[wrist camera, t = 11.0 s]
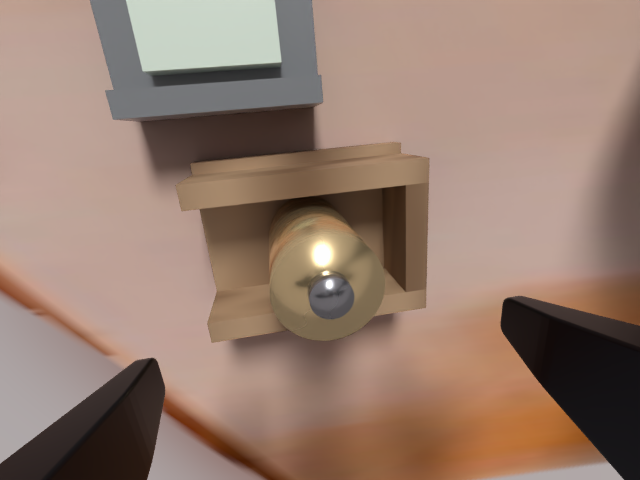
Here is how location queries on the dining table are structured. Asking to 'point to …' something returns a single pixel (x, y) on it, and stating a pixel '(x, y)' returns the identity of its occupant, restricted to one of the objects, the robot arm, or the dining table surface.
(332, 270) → the cell bronze
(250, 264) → the wooden open box
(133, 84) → the base
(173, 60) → the checker pad
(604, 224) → the dining table surface
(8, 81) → the dining table surface
